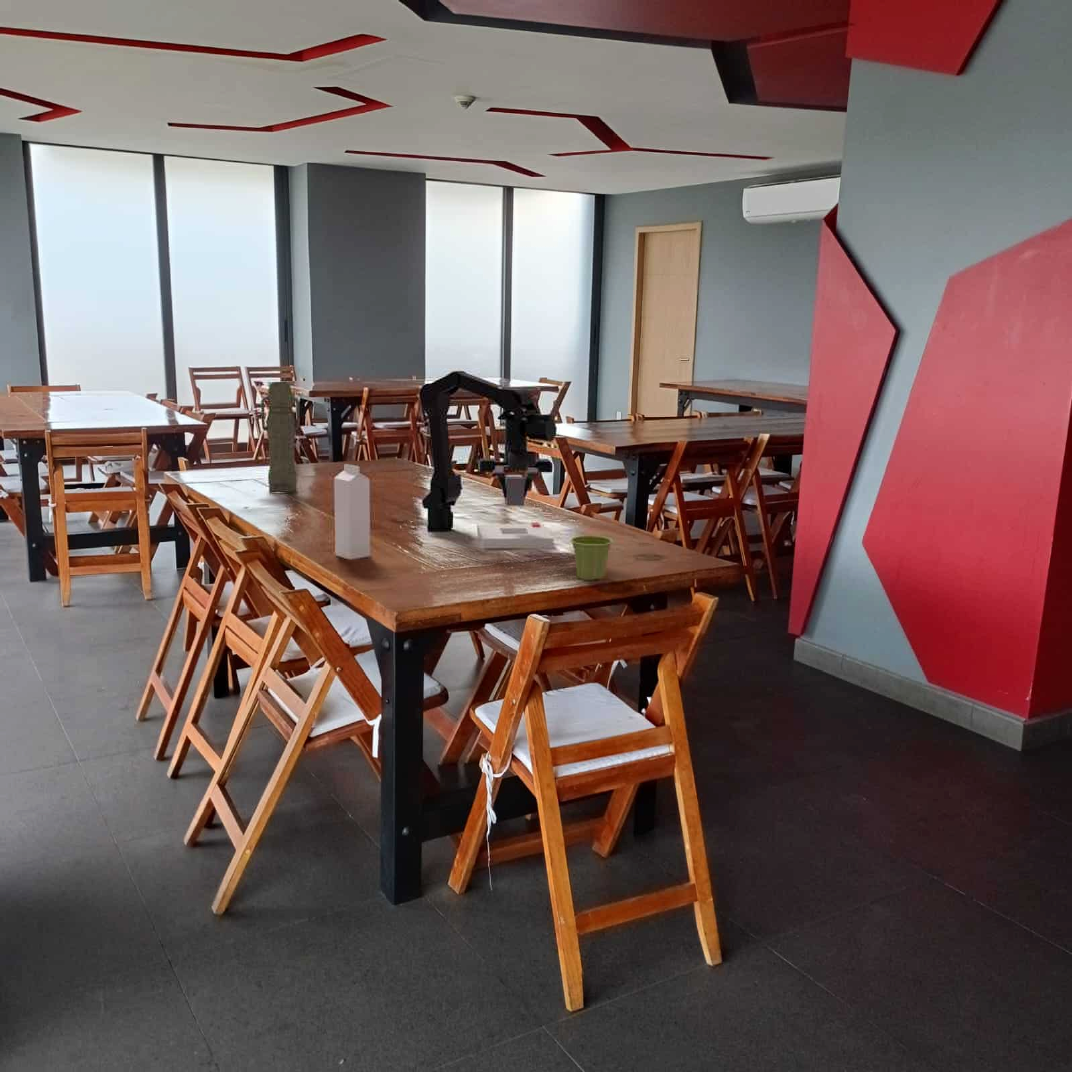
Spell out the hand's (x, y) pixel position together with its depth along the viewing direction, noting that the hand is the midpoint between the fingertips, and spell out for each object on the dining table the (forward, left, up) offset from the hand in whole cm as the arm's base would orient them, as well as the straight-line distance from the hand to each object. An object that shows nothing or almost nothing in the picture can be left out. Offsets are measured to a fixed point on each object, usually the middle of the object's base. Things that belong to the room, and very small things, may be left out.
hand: (514, 498), depth 257 cm
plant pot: (+13, -38, -12) cm, 42 cm away
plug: (0, 0, -2) cm, 2 cm away
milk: (-41, -16, -12) cm, 45 cm away
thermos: (-67, +74, -12) cm, 100 cm away
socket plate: (0, 0, -11) cm, 11 cm away
